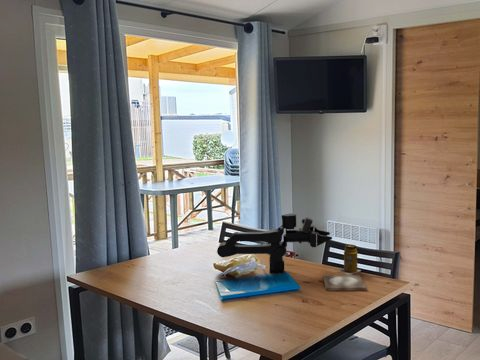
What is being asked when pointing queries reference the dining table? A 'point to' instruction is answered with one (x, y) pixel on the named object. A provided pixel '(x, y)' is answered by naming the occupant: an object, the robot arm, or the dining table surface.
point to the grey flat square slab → (343, 283)
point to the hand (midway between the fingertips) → (330, 235)
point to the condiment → (350, 260)
